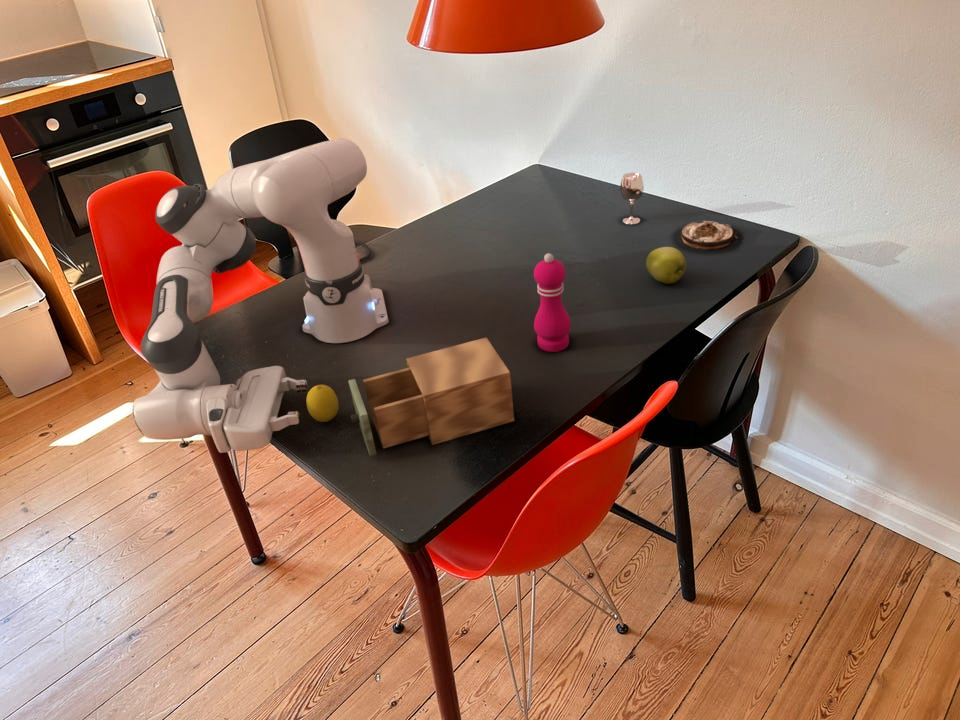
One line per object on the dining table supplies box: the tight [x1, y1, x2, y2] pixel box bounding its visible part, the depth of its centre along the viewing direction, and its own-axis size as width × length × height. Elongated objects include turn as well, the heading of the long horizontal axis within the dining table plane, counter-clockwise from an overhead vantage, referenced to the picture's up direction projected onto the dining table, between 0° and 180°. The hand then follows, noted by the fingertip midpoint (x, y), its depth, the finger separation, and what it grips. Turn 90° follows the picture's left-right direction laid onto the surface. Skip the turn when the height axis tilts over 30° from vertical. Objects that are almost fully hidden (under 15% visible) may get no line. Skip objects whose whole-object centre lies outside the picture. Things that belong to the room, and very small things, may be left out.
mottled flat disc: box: [680, 219, 738, 251], centre depth 184 cm, size 15×15×4 cm
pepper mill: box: [533, 252, 572, 353], centre depth 148 cm, size 7×7×20 cm
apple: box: [645, 246, 687, 285], centre depth 167 cm, size 8×9×8 cm
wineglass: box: [619, 172, 645, 225], centre depth 194 cm, size 6×6×12 cm
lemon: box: [305, 384, 339, 423], centre depth 138 cm, size 6×6×8 cm
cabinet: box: [405, 337, 515, 446], centre depth 135 cm, size 15×12×11 cm
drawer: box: [347, 367, 430, 457], centre depth 132 cm, size 15×11×9 cm
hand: (302, 401), depth 137 cm, fingers open, 8 cm apart
